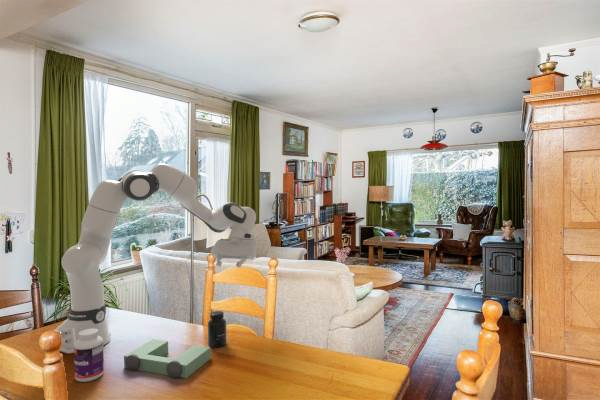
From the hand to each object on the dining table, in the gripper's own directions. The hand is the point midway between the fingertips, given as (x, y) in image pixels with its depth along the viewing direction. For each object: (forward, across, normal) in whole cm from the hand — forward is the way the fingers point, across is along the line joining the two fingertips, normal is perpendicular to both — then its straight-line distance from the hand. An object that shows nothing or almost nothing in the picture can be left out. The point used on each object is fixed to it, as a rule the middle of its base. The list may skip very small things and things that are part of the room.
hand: (228, 266), depth 158 cm
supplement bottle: (+30, +4, +7) cm, 31 cm away
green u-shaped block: (+42, -4, -6) cm, 43 cm away
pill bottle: (+53, -22, -17) cm, 60 cm away
